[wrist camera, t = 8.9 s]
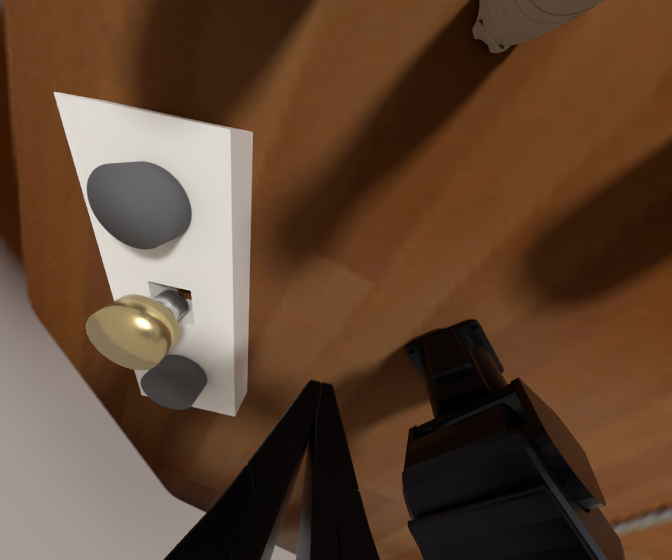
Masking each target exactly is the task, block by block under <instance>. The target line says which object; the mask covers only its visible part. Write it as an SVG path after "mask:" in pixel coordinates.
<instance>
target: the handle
mask: <svg viewBox="0 0 672 560" xmlns="http://www.w3.org/2000/svg"><path fill="white" fill-rule="evenodd" d="M602 1H604V0H479V13H478V17H477V20H476V23H475V25H474V27H473V29H472V31H473V35H474V38H475V39H480V40H482V41H484V42H485V43H486V44H487V45H488V47H489V51H490V52H491V53H500V52H503V51H505V50H507V49H508V48H509V47H510V46H511V45H516V44H521V43H524V42H528V41H530V40H533V39H535V38H538V37H540V36H542V35H545V34H547V33H549V32H551V31H553V30H554V29H556V28H558V27H560V26H562V25H564V24H566V23H568V22H569V21H571V20H573V19H575V18H576V17H578V16H580V15H581V14H583V13H585V12H586V11H588V10H589V9H591V8H593V7H595V6H596V5H598V4H599V3H601V2H602Z"/></svg>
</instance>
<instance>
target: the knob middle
mask: <svg viewBox="0 0 672 560" xmlns="http://www.w3.org/2000/svg"><path fill="white" fill-rule="evenodd" d="M187 311H188V303H187V301H186V299H185V298H184V297H183V296H182V295H181V294H180V293H178V292H176V291H173V290H164V291H162V292H161V293H159V294H158V295H156V296H155V297H154V298H152V299H151V298H148V297H145V296H142V295H135V294H131V295H125V296H123V297H121V298H119V299H117V300H116V301H114V302H113V303H111V304H109V305H108V306H106V307H104V308H103V309H101V310H99V311H98V312H96V313H95V314H93V315H91V316H90V317H89V318H88V320H87V322H86V332H87V335H88V337H89V339H90V341H91V342H92V344H93V345H94V346H95V347H96V349H97V350H98V351H99V352H100V353H102V354H103V355H104V356H105V357H107V358H108V359H110V360H111V361H113V362H115V363H117V364H119V365H121V366H123V367H126V368H130V369H134V370H148V369H151V368H154V367H155V366H156V365H157V364H158V363H159V362H160V361H161V360H162V359H163V358H164V357H165V356H166V355H167V354H168V353H169V352H170V351H171V350H172V349H173V348H174V347H175V346H176V345H177V344H178V342H179V341H180V338H181V330H180V326H179V324H178V322H177V321H178V320H179V319H180V318H181V317H182V316H183V315H184V314H185V313H186V312H187Z"/></svg>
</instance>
